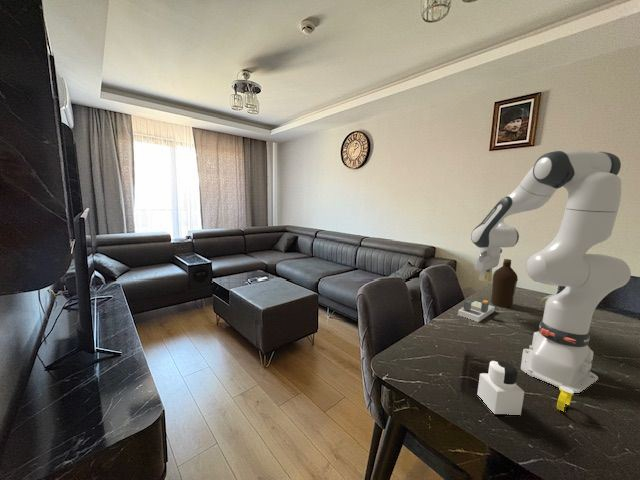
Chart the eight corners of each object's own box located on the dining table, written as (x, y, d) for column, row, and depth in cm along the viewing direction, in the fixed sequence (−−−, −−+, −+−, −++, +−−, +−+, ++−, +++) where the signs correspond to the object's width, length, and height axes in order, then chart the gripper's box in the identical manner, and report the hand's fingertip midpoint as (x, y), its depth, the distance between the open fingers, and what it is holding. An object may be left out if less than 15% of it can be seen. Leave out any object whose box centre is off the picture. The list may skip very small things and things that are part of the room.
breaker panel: (478, 322, 116) (478, 316, 116) (457, 315, 123) (458, 309, 123) (494, 311, 128) (494, 306, 128) (474, 305, 135) (475, 300, 135)
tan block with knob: (487, 282, 124) (489, 271, 123) (478, 280, 127) (480, 269, 126) (490, 280, 127) (492, 269, 126) (482, 278, 130) (483, 268, 129)
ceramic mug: (537, 308, 133) (540, 294, 132) (545, 305, 137) (548, 292, 136) (564, 317, 124) (567, 302, 123) (571, 314, 128) (574, 299, 126)
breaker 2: (485, 312, 120) (486, 302, 119) (480, 310, 122) (482, 301, 121) (487, 310, 122) (489, 301, 121) (483, 309, 124) (484, 299, 123)
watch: (559, 402, 70) (563, 382, 70) (572, 409, 68) (577, 388, 67) (551, 409, 67) (556, 389, 66) (565, 417, 65) (570, 396, 64)
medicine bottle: (500, 395, 72) (506, 356, 70) (521, 416, 65) (528, 374, 63) (476, 395, 72) (481, 356, 70) (494, 416, 65) (500, 374, 63)
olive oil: (492, 306, 135) (498, 260, 131) (487, 299, 145) (493, 256, 141) (516, 309, 131) (523, 262, 127) (510, 302, 140) (516, 258, 137)
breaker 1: (467, 310, 121) (468, 302, 120) (463, 309, 123) (464, 301, 122) (470, 309, 123) (471, 301, 122) (466, 307, 125) (467, 300, 124)
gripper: (488, 254, 116) (484, 282, 118) (503, 249, 128) (499, 275, 130) (473, 251, 121) (469, 279, 123) (489, 247, 133) (486, 272, 135)
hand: (485, 277), depth 127 cm, fingers closed on tan block with knob, 4 cm apart
